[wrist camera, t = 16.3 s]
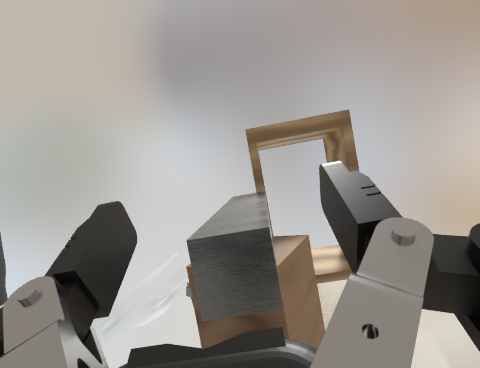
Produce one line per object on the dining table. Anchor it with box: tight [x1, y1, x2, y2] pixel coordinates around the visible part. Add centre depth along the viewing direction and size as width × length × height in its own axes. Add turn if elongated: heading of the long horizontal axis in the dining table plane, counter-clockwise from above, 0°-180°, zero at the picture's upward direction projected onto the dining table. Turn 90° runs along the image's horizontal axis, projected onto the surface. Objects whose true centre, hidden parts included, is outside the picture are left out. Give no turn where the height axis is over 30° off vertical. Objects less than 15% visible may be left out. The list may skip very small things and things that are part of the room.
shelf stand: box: [246, 110, 359, 283], centre depth 46 cm, size 16×14×34 cm
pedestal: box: [186, 235, 325, 349], centre depth 25 cm, size 8×8×20 cm
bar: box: [187, 191, 284, 321], centre depth 24 cm, size 22×4×4 cm, turn 175°
